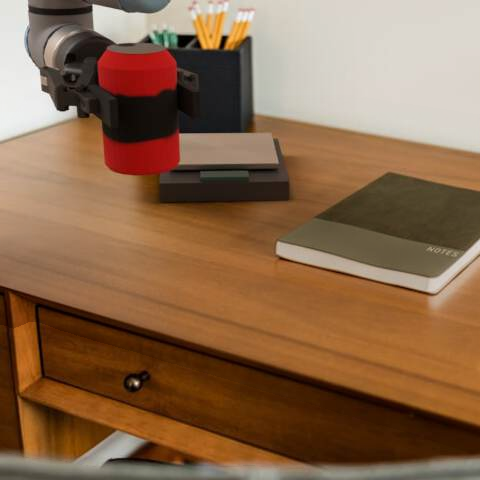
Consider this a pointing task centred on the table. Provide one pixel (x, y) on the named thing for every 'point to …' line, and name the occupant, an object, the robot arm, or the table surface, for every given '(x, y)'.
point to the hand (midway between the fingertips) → (156, 109)
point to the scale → (226, 184)
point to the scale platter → (227, 151)
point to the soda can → (141, 109)
